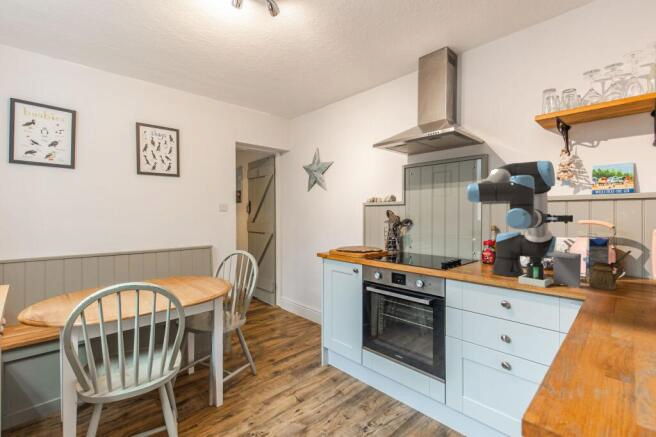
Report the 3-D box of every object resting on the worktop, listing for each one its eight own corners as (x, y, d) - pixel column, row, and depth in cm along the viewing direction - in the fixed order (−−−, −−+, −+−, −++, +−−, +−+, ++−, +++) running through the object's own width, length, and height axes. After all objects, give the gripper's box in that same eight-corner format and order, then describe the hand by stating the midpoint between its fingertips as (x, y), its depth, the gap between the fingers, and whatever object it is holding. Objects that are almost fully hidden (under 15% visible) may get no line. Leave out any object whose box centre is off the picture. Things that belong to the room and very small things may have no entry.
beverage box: (588, 283, 145) (589, 238, 144) (585, 279, 154) (586, 236, 153) (607, 286, 141) (609, 239, 140) (603, 281, 150) (604, 237, 149)
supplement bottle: (538, 284, 140) (539, 259, 140) (523, 281, 146) (523, 257, 146) (546, 283, 143) (547, 258, 143) (531, 280, 149) (531, 256, 149)
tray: (518, 283, 145) (518, 276, 145) (526, 280, 152) (526, 273, 152) (544, 287, 137) (544, 280, 137) (551, 284, 144) (551, 277, 144)
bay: (546, 287, 138) (547, 253, 138) (553, 283, 145) (554, 251, 145) (573, 291, 130) (574, 256, 130) (580, 287, 137) (581, 253, 137)
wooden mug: (630, 293, 128) (631, 251, 128) (588, 287, 138) (589, 248, 138) (629, 289, 135) (631, 249, 134) (590, 284, 144) (591, 246, 144)
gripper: (496, 226, 126) (515, 225, 139) (571, 229, 106) (585, 228, 120) (496, 208, 125) (515, 209, 139) (571, 208, 106) (585, 209, 119)
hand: (547, 217), depth 129 cm, fingers open, 13 cm apart
